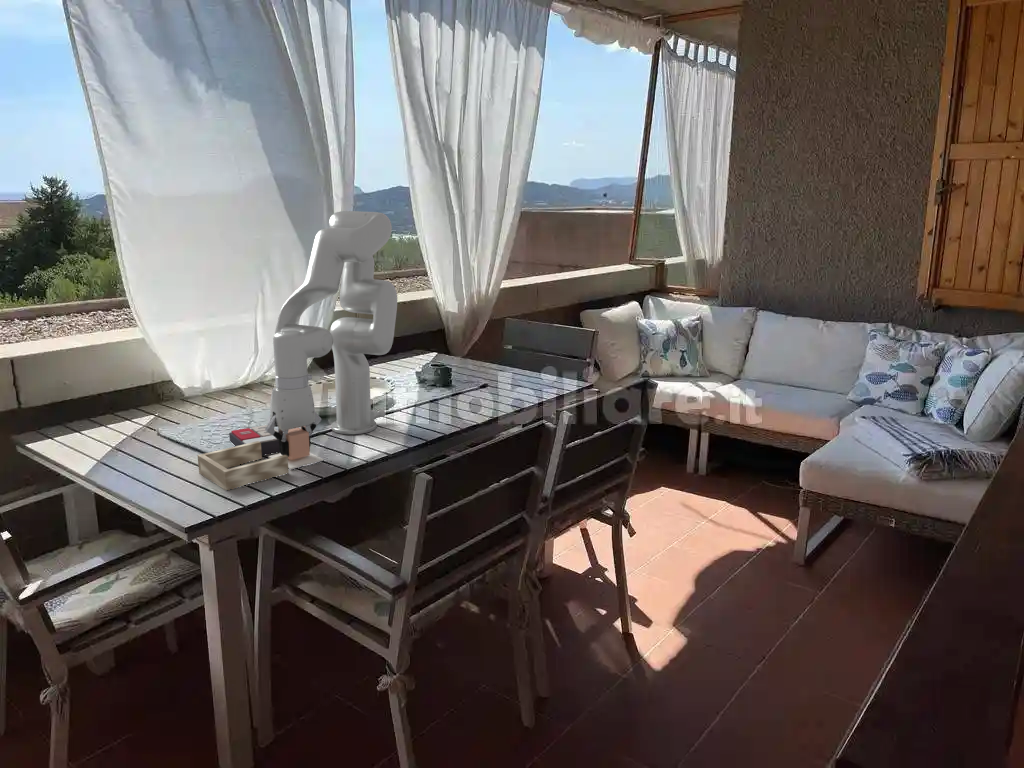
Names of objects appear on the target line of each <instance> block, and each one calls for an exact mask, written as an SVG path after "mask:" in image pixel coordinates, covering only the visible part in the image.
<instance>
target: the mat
mask: <svg viewBox="0 0 1024 768" xmlns="http://www.w3.org/2000/svg"><path fill="white" fill-rule="evenodd" d="M267 456H268V458H267V459H270V458H274V457H278V456H282V455H281V453H275V454H270V455H267ZM323 460H324V461H325V459H324V458H322V457H321V456H318V455H316V454H314V453H312V452H310V455H309V456H305V457H301V458H297V459H293V460H291V459H289V458H288V468H289V469H294V468H297V467H300V466H303V465H307V464H311V463H315V462H319V461H323ZM289 469H288V470H289ZM294 470H295V469H294Z"/></svg>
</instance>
